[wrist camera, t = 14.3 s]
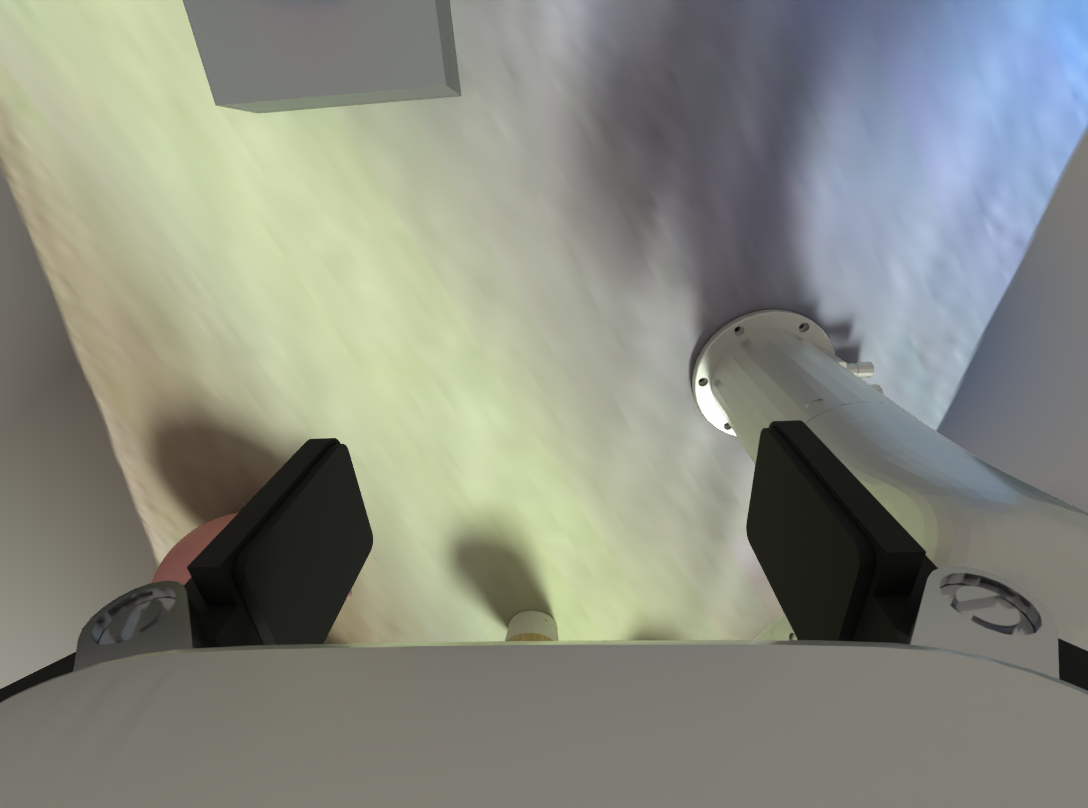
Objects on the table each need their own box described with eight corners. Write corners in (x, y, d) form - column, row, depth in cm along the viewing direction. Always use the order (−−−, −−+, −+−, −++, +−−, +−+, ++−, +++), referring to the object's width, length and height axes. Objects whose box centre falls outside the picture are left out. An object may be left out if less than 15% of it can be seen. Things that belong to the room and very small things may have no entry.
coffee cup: (482, 637, 62) (460, 765, 49) (515, 589, 58) (500, 714, 45) (549, 662, 64) (545, 792, 51) (585, 617, 60) (591, 746, 47)
